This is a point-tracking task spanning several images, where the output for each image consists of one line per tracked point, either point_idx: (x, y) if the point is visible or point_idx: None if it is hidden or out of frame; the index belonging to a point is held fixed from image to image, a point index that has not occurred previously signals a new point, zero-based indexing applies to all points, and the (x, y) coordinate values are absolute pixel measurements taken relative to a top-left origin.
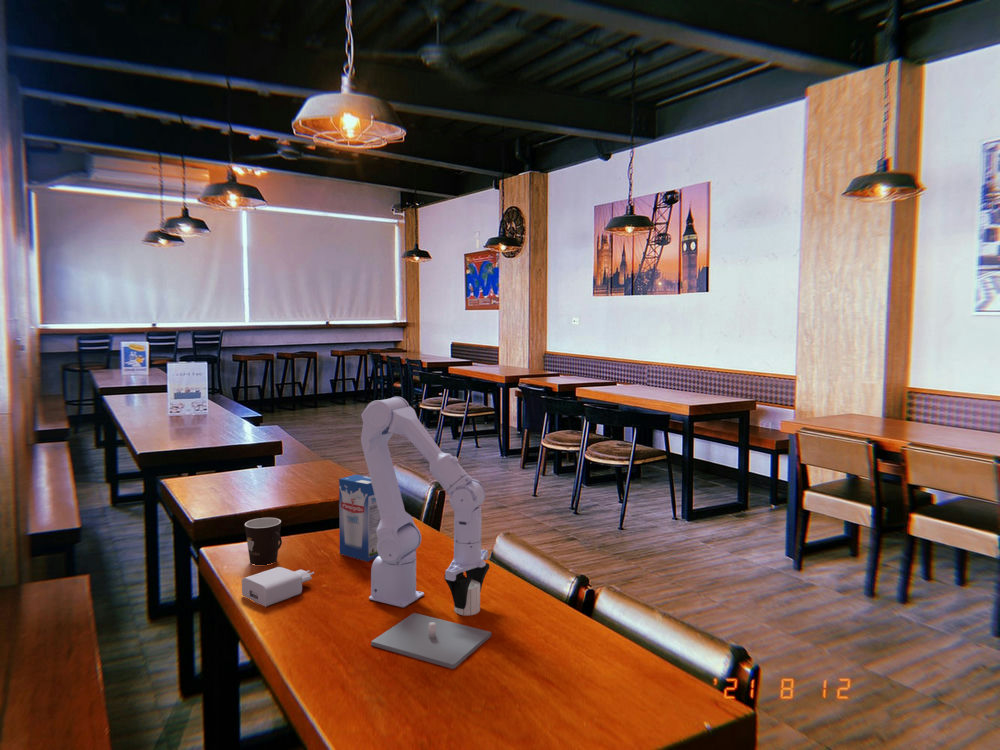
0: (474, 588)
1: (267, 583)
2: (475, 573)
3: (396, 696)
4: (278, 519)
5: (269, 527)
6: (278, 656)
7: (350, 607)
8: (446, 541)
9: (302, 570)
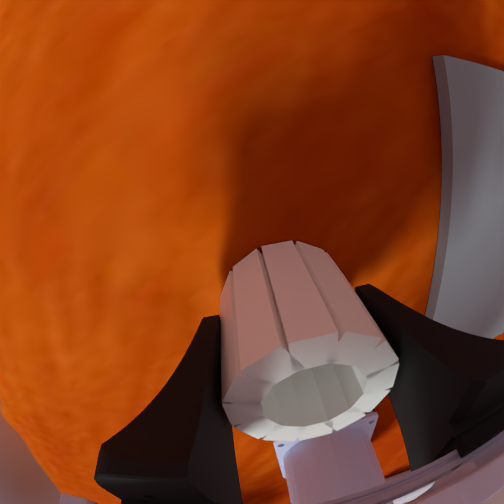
0: (354, 337)
1: (425, 489)
2: (220, 452)
3: None
4: None
5: None
6: None
7: (401, 441)
8: (50, 477)
9: None
